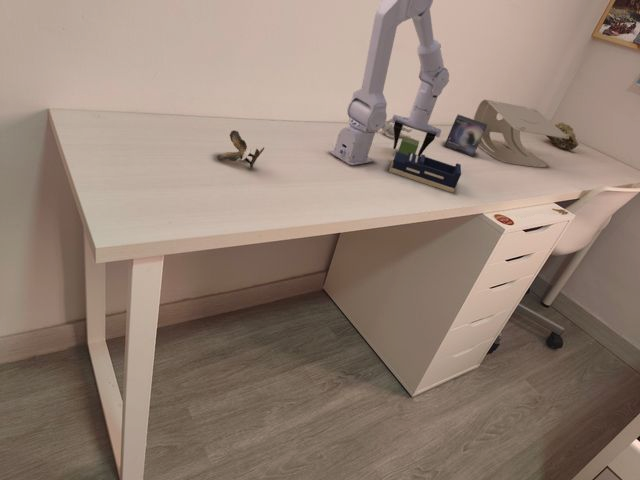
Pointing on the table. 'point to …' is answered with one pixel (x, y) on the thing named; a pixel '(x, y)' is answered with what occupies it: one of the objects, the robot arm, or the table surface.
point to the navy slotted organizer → (426, 170)
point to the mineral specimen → (563, 142)
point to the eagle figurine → (240, 150)
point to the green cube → (408, 146)
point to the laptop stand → (513, 131)
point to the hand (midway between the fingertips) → (406, 152)
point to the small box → (465, 135)
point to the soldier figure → (392, 130)
